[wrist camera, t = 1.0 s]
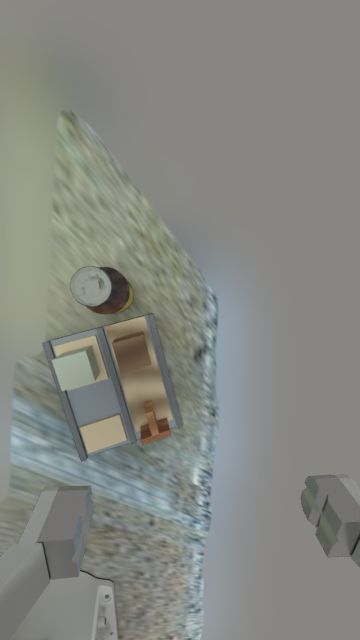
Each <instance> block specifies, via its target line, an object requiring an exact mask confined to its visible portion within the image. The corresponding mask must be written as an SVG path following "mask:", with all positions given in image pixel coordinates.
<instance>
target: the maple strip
mask: <svg viewBox="0 0 360 640" xmlns="http://www.w3.org/2000/svg"><path fill="white" fill-rule="evenodd" d="M105 328H106V332H107V335H108V339H109V342H110V345H111V349H112V352H113V355H114V359H115V362H116V366H117V369H118V372H119V376H120V379H121V382H122V386H123V389H124V392H125V396H126V399H127V403H128V406H129V409H130V413H131V416H132V419H133V423H134V426H135V430H136V432H138V431H141V443H142V445H145V444H148V443H151V442H153V441H156V440H159V439H162V438H165V437H168V436H171V431H170V427H169V423H168V421H170V420H173V417H172V414H171V410H170V407H169V403H168V399H167V396H166V392H165V388H164V385H163V381H162V378H161V374H160V370H159V367H158V363H157V359H156V356H155V352H154V349H153V345H152V341H151V338H150V334H149V330H148V327H147V323H146V320H145V316H142V317H138V318H135V319H131V320H127V321H123V322H120V323H116V324H112V325H109V326H105ZM141 331H143V334H144V337H145V341H146V344H147V348H148V352H149V355H150V359H151V364H152V365H149V366H146V367H143V368H139V369H136V370H133V371H129V372H126V373H123V374H121V373H120V370H119V367H118V363H117V360H116V357H115V353H114V350H113V346H112V342H113V341H114V339H116V338H120V337H124V336H127V335H131V334H134V333H138V332H141Z"/></svg>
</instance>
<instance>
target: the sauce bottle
mask: <svg viewBox="0 0 360 640" xmlns="http://www.w3.org/2000/svg"><path fill="white" fill-rule="evenodd" d="M70 289H71V293H72V295H73V297H74V298H75V299H76V300H77V301H78V302H79V303H81V304H82V305H85V306H86V307H88V308H89V309H90V310H91V311H93V312H96V313H99V314H113V313H118V312H122V311H124V310H125V309H127V308H128V307H129V306H130V305H131V303H132V301H133V296H134V293H133V289H132V286H131V285H130V283H129V282H128V281H127V280H126V278H125V277H124V276H123V275H122V274H121V273H120V272H118V271H117V270H115V269H113V268H109V267H100V268H98V267H94V266H88V267H83V268H81V269H79V270H78V271H77V272H76V273H75V274H74V275H73V277H72V279H71V282H70Z"/></svg>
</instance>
